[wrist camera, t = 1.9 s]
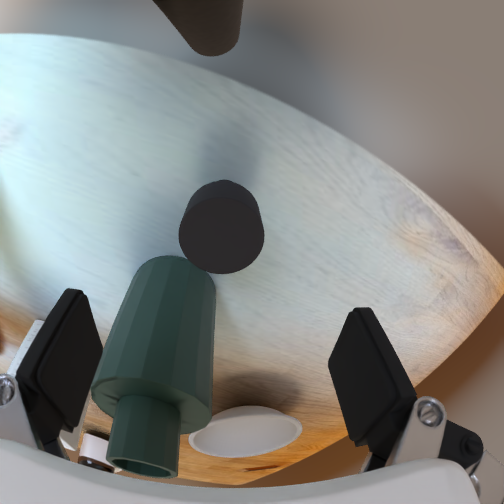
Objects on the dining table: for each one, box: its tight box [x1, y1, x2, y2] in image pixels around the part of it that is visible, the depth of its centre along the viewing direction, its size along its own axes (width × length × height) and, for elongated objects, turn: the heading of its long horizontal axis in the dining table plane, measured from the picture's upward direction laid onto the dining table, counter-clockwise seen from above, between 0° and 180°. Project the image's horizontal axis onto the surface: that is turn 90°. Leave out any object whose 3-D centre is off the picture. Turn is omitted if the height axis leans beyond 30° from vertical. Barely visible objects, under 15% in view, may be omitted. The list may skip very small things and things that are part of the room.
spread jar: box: [78, 430, 121, 474], centre depth 39 cm, size 12×11×12 cm
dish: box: [188, 406, 302, 458], centre depth 34 cm, size 18×14×5 cm
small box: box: [6, 320, 91, 451], centre depth 22 cm, size 8×6×13 cm
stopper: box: [179, 180, 264, 274], centre depth 17 cm, size 4×4×7 cm
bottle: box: [90, 256, 216, 478], centre depth 18 cm, size 8×8×16 cm
